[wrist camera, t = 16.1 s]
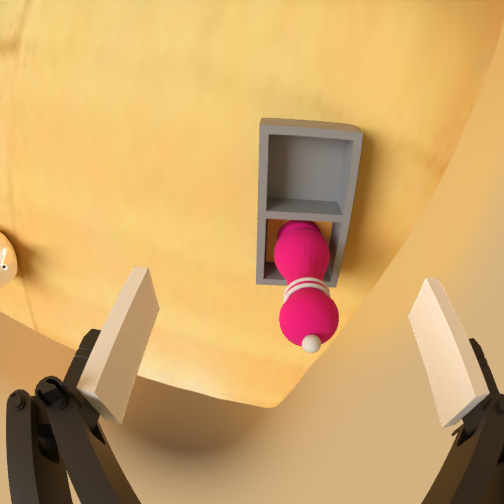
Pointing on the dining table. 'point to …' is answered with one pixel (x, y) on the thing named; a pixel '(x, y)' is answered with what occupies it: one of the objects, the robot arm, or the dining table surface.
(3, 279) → the teapot
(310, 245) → the pepper mill
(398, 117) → the dining table surface
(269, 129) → the rack
